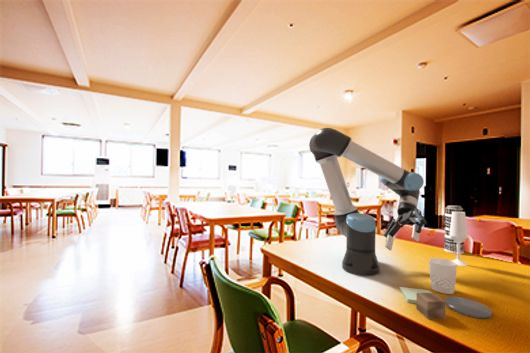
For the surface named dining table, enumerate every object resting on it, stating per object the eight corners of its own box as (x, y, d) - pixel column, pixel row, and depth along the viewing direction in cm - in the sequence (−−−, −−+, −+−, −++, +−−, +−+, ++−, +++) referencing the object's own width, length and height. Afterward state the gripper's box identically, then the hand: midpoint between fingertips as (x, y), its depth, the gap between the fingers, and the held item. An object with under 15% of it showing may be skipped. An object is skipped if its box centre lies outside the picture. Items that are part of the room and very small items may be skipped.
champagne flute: (467, 267, 108) (467, 213, 108) (448, 263, 112) (448, 212, 112) (468, 263, 113) (468, 212, 113) (450, 259, 117) (450, 210, 117)
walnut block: (427, 319, 67) (427, 301, 67) (416, 309, 72) (416, 292, 72) (445, 319, 67) (445, 301, 67) (433, 309, 72) (433, 293, 72)
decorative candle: (439, 248, 137) (439, 204, 137) (457, 249, 135) (457, 205, 136) (449, 253, 128) (449, 206, 128) (468, 254, 126) (468, 206, 127)
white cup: (461, 296, 80) (461, 266, 80) (435, 293, 82) (435, 264, 82) (448, 286, 88) (448, 258, 88) (425, 284, 90) (425, 257, 90)
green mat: (407, 302, 76) (407, 299, 76) (400, 289, 85) (400, 286, 85) (440, 306, 74) (440, 303, 74) (429, 293, 82) (429, 290, 82)
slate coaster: (454, 314, 69) (454, 312, 69) (438, 296, 80) (438, 294, 80) (501, 321, 66) (501, 318, 66) (478, 301, 77) (478, 299, 77)
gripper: (439, 201, 101) (436, 240, 88) (393, 222, 121) (385, 256, 108) (424, 190, 101) (420, 228, 88) (381, 213, 121) (371, 246, 108)
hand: (401, 244), depth 98 cm, fingers open, 13 cm apart
